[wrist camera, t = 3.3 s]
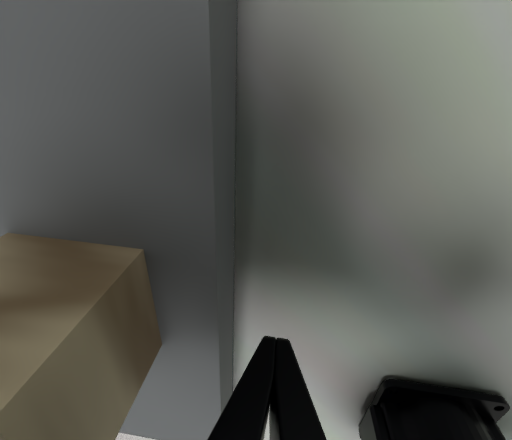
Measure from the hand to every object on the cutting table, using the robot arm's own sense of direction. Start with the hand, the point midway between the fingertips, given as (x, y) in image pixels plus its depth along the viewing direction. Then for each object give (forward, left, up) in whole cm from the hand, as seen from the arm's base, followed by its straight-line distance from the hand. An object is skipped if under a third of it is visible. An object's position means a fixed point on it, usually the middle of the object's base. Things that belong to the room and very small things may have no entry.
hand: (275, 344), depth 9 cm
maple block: (+7, 0, -1) cm, 7 cm away
